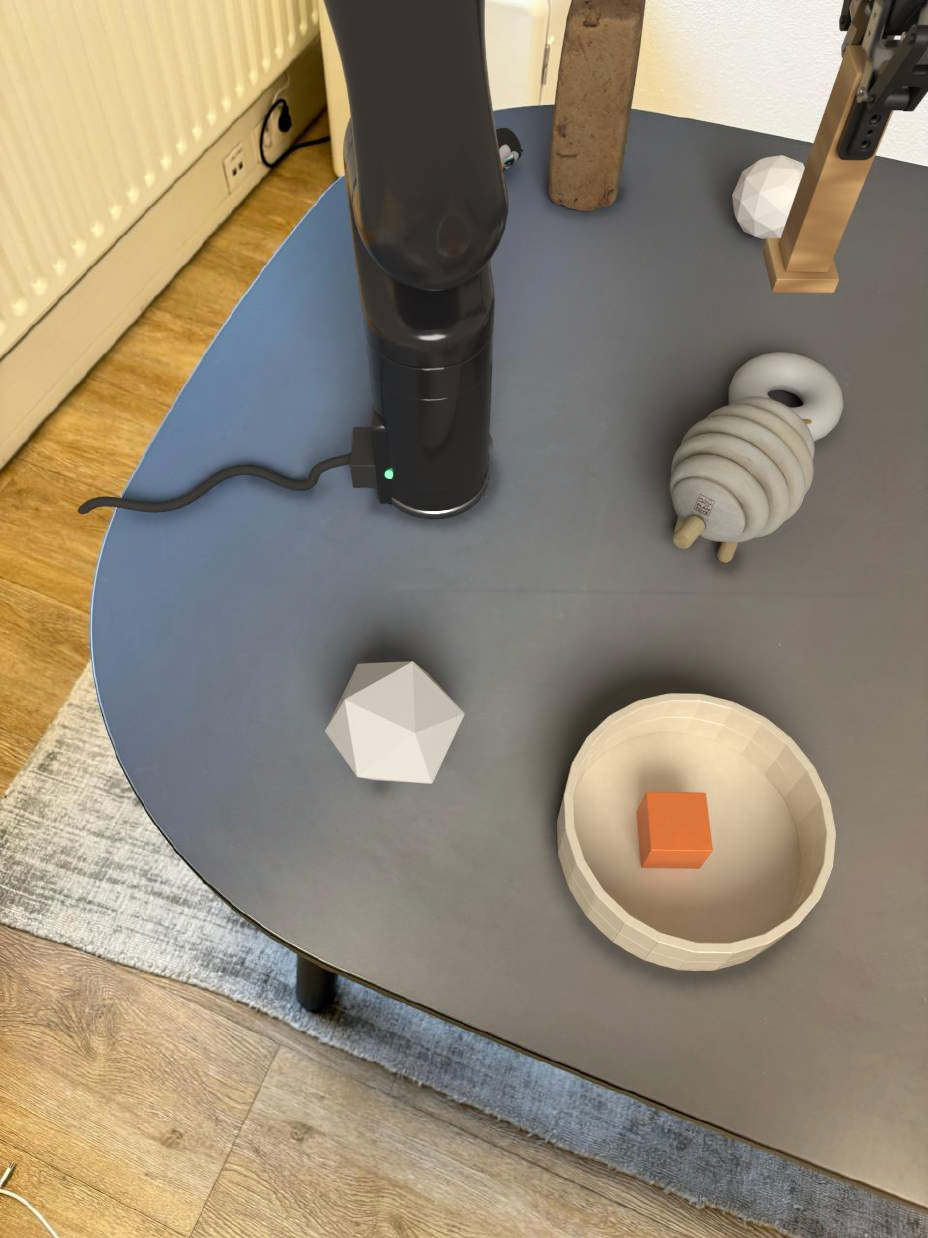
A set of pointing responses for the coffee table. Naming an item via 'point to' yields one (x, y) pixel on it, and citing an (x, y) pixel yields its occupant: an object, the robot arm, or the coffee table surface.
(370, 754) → the die
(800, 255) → the wooden pillar
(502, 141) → the puffin
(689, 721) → the bowl
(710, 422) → the toy sheep
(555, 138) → the block
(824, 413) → the donut
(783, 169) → the geometric ball
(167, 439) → the coffee table surface
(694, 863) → the orange block
